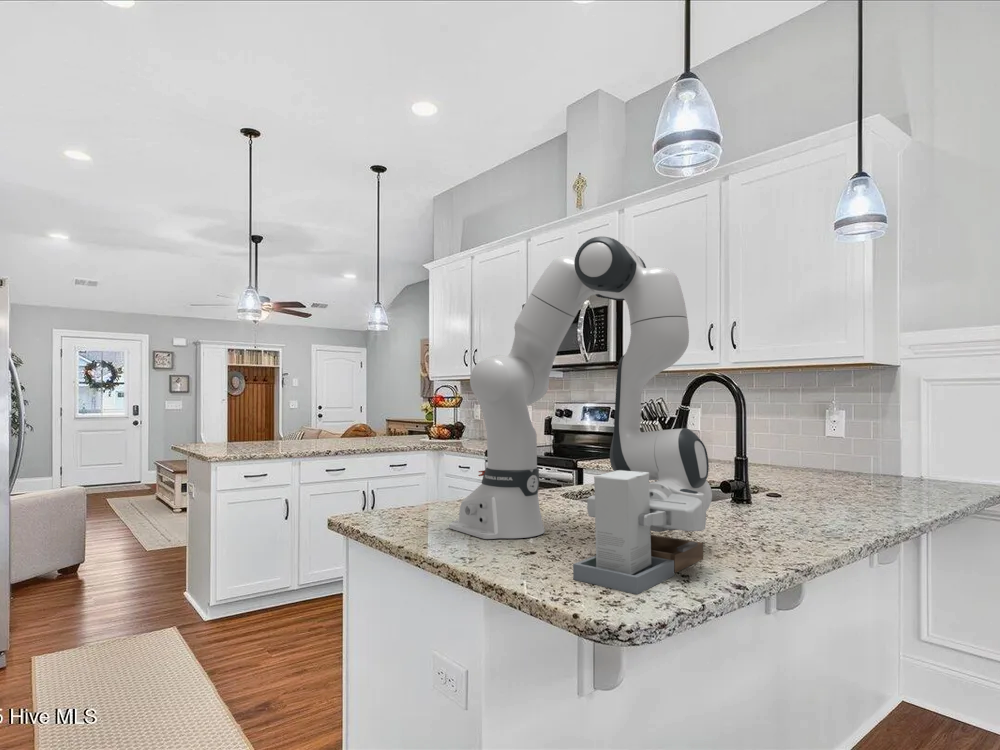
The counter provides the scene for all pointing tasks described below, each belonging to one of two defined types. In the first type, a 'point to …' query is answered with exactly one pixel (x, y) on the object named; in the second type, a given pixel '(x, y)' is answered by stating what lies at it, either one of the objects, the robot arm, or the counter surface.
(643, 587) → the slate tray
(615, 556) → the skincare box
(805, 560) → the counter surface
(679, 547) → the walnut caddy
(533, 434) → the robot arm
